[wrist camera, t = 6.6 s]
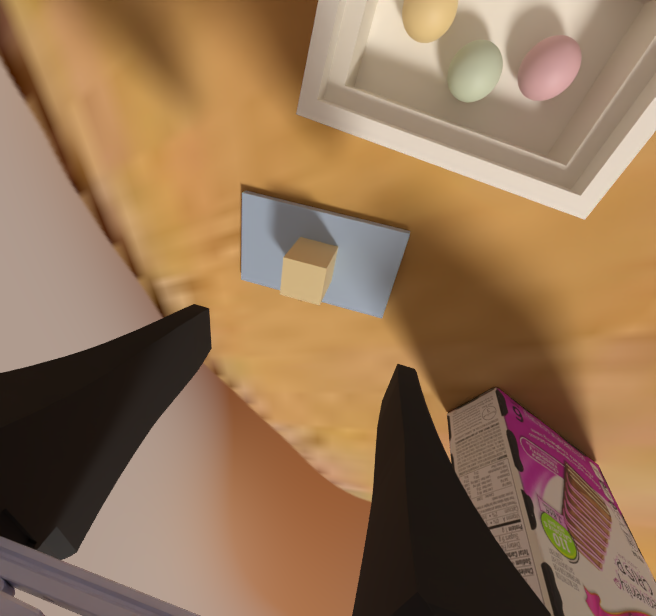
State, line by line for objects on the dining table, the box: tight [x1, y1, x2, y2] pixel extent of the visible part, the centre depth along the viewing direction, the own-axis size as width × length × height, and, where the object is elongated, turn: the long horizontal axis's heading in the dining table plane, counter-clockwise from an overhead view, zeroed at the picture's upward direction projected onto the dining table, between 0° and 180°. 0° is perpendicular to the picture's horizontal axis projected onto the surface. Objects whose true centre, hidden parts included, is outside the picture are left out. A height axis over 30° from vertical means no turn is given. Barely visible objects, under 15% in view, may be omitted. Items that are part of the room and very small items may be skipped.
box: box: [296, 0, 656, 220], centre depth 12 cm, size 12×8×4 cm, turn 73°
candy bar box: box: [447, 387, 656, 616], centre depth 18 cm, size 11×5×16 cm, turn 54°
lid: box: [241, 191, 410, 318], centre depth 19 cm, size 10×6×4 cm, turn 80°
